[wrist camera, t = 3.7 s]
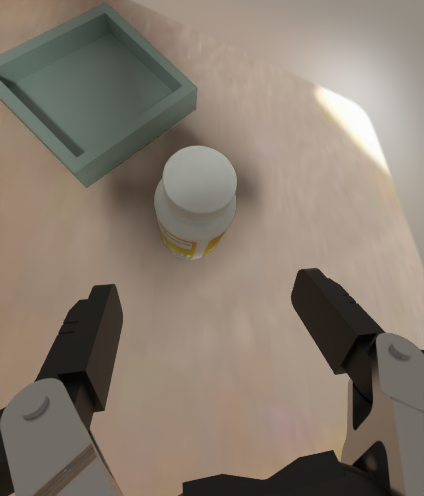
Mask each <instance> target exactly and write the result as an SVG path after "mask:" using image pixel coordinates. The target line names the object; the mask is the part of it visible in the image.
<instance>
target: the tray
mask: <svg viewBox="0 0 424 496" xmlns="http://www.w3.org/2000/svg"><path fill="white" fill-rule="evenodd" d="M0 100H1V101H2V102H3V103H4V104H5V105H6V106H7V107H8V108H9V109H10V110H11V111H12V112H13V113H14V114H15V115H16V116H17V117H18V118H19V119H20V120H21V121H22V122H23V123H24V125H25V126H26V127H27V128H28V129H29V130H30V131H31V132H32V133H33V134H34V135H35V136H36V137H37V138H38V139H39V140H40V141H41V142H42V143H43V144H44V145H45V146H46V147H47V148H48V149H49V150H50V151H51V152H52V153H53V154H54V155H55V156H56V157H57V158H58V159H59V160H60V161H61V162H62V163H63V164H64V165H65V166H66V167H67V168H68V169H69V170H70V171H71V172H72V174H73V175H74V176H75V177H76V178H77V179H78V180H79V181H80V182H81V183H82V184H83V185H84V186H85V187H86V188H88V187H89V186H90V185H92V184H93V183H94V182H96V181H97V180H99V179H100V178H101V177H103V176H104V175H105V174H107V173H108V172H109V171H111V170H112V169H114V168H115V167H116V166H118V165H119V164H120V163H122V162H123V161H125V160H126V159H127V158H129V157H130V156H131V155H133V154H134V153H136V152H137V151H138V150H140V149H141V148H142V147H144V146H145V145H147V144H148V143H149V142H151V141H152V140H153V139H155V138H156V137H158V136H159V135H160V134H162V133H163V132H164V131H166V130H167V129H169V128H170V127H171V126H173V125H174V124H175V123H177V122H178V121H180V120H181V119H182V118H184V117H185V116H186V115H188V114H189V113H191V112H192V111H193V110H195V109H196V100H197V87H196V86H195V85H194V84H193V83H192V82H191V81H190V80H189V79H188V78H187V77H186V76H185V75H183V74H182V73H181V72H180V71H179V70H178V69H177V68H176V67H175V66H174V65H173V64H172V63H171V62H170V61H168V60H167V59H166V58H165V57H164V56H163V55H162V54H161V53H160V52H159V51H158V50H157V49H156V48H155V47H153V46H152V45H151V44H150V43H149V42H148V41H147V40H146V39H145V38H144V37H143V36H142V35H141V34H139V33H138V32H137V31H136V30H135V29H134V28H133V27H132V26H131V25H130V24H129V23H128V22H127V21H126V20H124V19H123V18H122V17H121V16H120V15H119V14H118V13H117V12H116V11H115V10H114V9H113V8H112V7H110V6H109V5H108V4H107V3H104V4H102V5H100V6H98V7H96V8H94V9H92V10H90V11H88V12H86V13H84V14H82V15H80V16H78V17H76V18H74V19H72V20H70V21H68V22H66V23H64V24H62V25H59V26H57V27H55V28H53V29H51V30H49V31H47V32H45V33H43V34H41V35H39V36H37V37H35V38H33V39H31V40H29V41H27V42H25V43H23V44H21V45H19V46H17V47H15V48H13V49H11V50H8V51H6V52H4V53H2V54H0Z"/></svg>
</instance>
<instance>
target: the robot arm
mask: <svg viewBox="0 0 424 496" xmlns="http://www.w3.org/2000/svg"><path fill="white" fill-rule="evenodd" d="M291 301H292V305H293V307H294V309H295V310H296V312H297V314H298V315H299V317H300V319H301V320H302V322H303V323H304V325H305V327H306V328H307V330H308V332H309V333H310V335H311V336H312V338H313V340H314V341H315V343H316V344H317V346H318V348H319V349H320V351H321V353H322V354H323V356H324V357H325V359H326V361H327V362H328V364H329V365H330V367H331V369H332V370H333V372H334V374H335V375H337V374H344V373H347V374H348V375H349V377H350V380H349V382H348V413H347V436H346V440H345V443H344V446H343V450H342V456H341V462H339V461H338V459H337V457H336V455H335V453H334V451H333V450H331V451H327V452H322V453H318V454H313V455H308V456H304V457H299V458H298V459H296V460H295V461H293V462H292V463H290V464H289V465H287V466H286V467H284V468H283V469H281V470H280V471H279V472H277V473H276V474H274V475H273V476H271V477H270V478H268V479H265V480H260V479H253V478H246V477H239V476H233V475H226V474H220V475H216V476H211V477H206V478H202V479H197V480H192V481H188V482H183V493H182V494H180V495H179V496H424V350H420V349H419V348H418V347H417V346H416V345H414V344H413V343H412V342H410V341H409V340H407V339H405V338H403V337H401V336H399V335H396V334H392V333H386V332H384V331H383V329H382V328H381V327H380V326H379V325H378V324H377V323H376V322H375V321H374V320H373V319H372V318H371V317H370V316H369V315H368V314H367V313H366V312H365V311H364V310H363V308H362V307H361V306H360V305H359V304H358V303H356V301H355V300H354V299H353V298H352V297H351V296H349V294H348V293H347V292H346V291H345V290H344V289H343V287H342V286H341V285H339V284H338V283H336V282H334V281H333V280H331V279H330V278H327V277H326V276H325V275H324V274H323V273H322V272H321V271H320V270H319V269H317V268H311V269H301V270H299V271H298V273H297V276H296V280H295V283H294V287H293V290H292V294H291ZM122 324H123V312H122V308H121V304H120V300H119V296H118V292H117V288H116V285H115V284H108V285H95V286H94V287H93V288H92V290H91V293H90V295H89V298H88V299H85V300H79V301H78V302H77V303H76V304H75V305H74V306H73V307H72V308H71V309H70V310H69V312H68V314H67V316H66V318H65V320H64V322H63V325H62V326H61V328H60V331H59V334H58V336H57V337H56V339H55V341H54V343H53V345H52V347H51V349H50V351H49V353H48V355H47V358H46V360H45V362H44V364H43V366H42V368H41V370H40V372H39V374H38V376H37V378H36V380H35V381H34V383H32V384H30V385H28V386H27V387H25V388H24V389H22V390H21V391H20V392H19V393H18V394H17V395H16V396H15V397H14V398H13V399H12V400H11V401H10V402H9V403H8V405H7V407H5V408H3V409H1V410H0V496H8V495H10V494H12V493H14V492H15V495H16V496H124V495H123V493H122V491H121V490H120V488H119V486H118V484H117V482H116V480H115V478H114V476H113V474H112V472H111V470H110V468H109V466H108V464H107V462H106V460H105V458H104V456H103V454H102V452H101V450H100V448H99V446H98V444H97V442H96V440H95V438H94V436H93V434H92V432H91V430H90V425H91V420H92V416H93V412H99V411H105V406H106V401H107V396H108V392H109V387H110V382H111V377H112V372H113V368H114V363H115V358H116V353H117V348H118V343H119V339H120V334H121V329H122Z"/></svg>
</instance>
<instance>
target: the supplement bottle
mask: <svg viewBox="0 0 424 496" xmlns="http://www.w3.org/2000/svg"><path fill="white" fill-rule="evenodd" d="M236 187H237V178H236V173H235V170H234V168H233V166H232V164H231V163H230V161H229V160H228V159H227V158H226V157H225V156H224V155H223V154H221V153H220V152H218V151H217V150H215V149H212V148H210V147H206V146H189V147H185V148H183V149H180V150H179V151H177V152H176V153H174V154H173V155H172V156H171V157H170V158H169V159H168V161H167V162H166V164H165V166H164V170H163V175H162V179H161V180H160V182H159V184H158V186H157V188H156V191H155V197H154V206H155V212H156V216H157V220H158V224H159V228H160V232H161V236H162V239H163V242H164V244H165V245H166V247H167V248H168V249H169V251H171V252H172V253H173V254H174V255H176V256H178V257H180V258H184V259H198V258H201V257H204V256H206V255H207V254H209V253H210V252H211V251H212V250H213V249H214V247H215V246H216V245H217V243H218V242H219V240H220V239H221V237H222V236H223V234H224V233H225V231H226V230H227V228H228V227H229V226H230V224H231V222H232V220H233V218H234V215H235V212H236V195H235V192H236Z"/></svg>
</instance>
